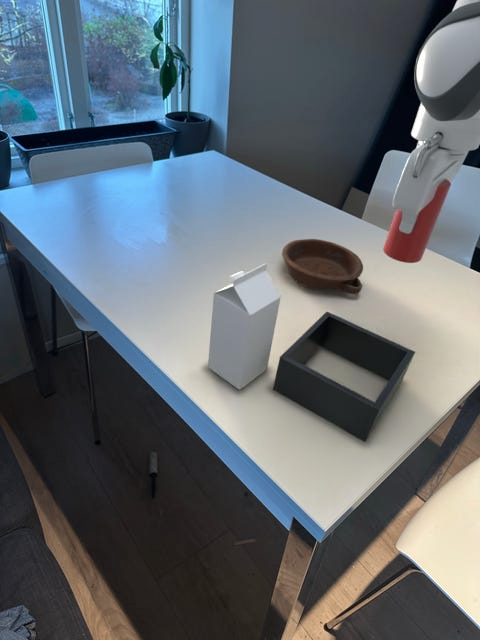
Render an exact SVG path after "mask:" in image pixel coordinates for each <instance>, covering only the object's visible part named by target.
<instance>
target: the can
mask: <svg viewBox="0 0 480 640" xmlns="http://www.w3.org/2000/svg"><path fill="white" fill-rule="evenodd" d="M415 178H417V177H415ZM451 186H452V182H451V183H450V182H449V181H448V180H447V179H446V180H445V181H444V182H443V183H442V184H440V185H439V186H438V187H437V190H436V193H435V196H434V198H433V199H432V201H431V202H430V203H429V204H427V205H426V206H425V207H424V208H423V209H422V210H421V211H420V212H419V214H418V216H417V219H416V220H417V222H416V225H415V227H414V230H413V231H412V232H411V233H409V234H407V233H404V232H401V231H400V230H399V227H400V224H401V221H402V211H399V210H397V209H395V212H394V215H393V218H392V221H391V224H390V226H389V230H388V234H387V236H386V239H385V242H384V245H383V249H382V250H383V252H384V254H385V255H386V256H388V257H389V258H390V259H392V260H394V261H398V262H400V263H406V264H415V263H419V262H420V261H421V260H422V258H423V256H424V253H425V251H426V249H427V247H428V244H429V241H430V239H431V237H432V234H433V231H434V229H435V226H436V223H437V221H438V218H439V217H440V213H441V211H442V209H443V206H444V203H445V201H446V198H447V196H448V194H449V191H450V189H451Z"/></svg>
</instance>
